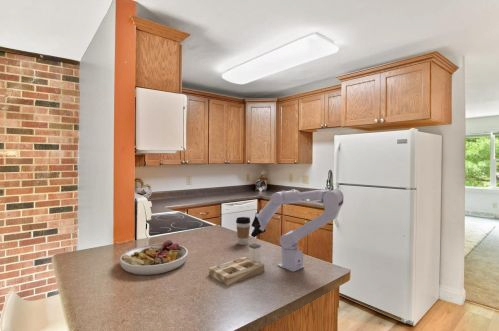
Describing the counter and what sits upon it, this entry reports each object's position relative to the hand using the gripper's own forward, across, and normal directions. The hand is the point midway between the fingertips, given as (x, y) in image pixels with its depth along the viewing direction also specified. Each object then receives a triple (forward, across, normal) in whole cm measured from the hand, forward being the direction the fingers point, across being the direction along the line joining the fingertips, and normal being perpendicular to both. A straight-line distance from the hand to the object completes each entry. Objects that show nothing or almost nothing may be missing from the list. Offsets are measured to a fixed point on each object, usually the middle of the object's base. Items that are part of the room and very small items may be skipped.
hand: (252, 231), depth 137 cm
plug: (+8, +9, +7) cm, 14 cm away
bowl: (+33, +13, -33) cm, 49 cm away
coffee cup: (+21, -16, +7) cm, 28 cm away
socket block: (+8, +22, -3) cm, 24 cm away
